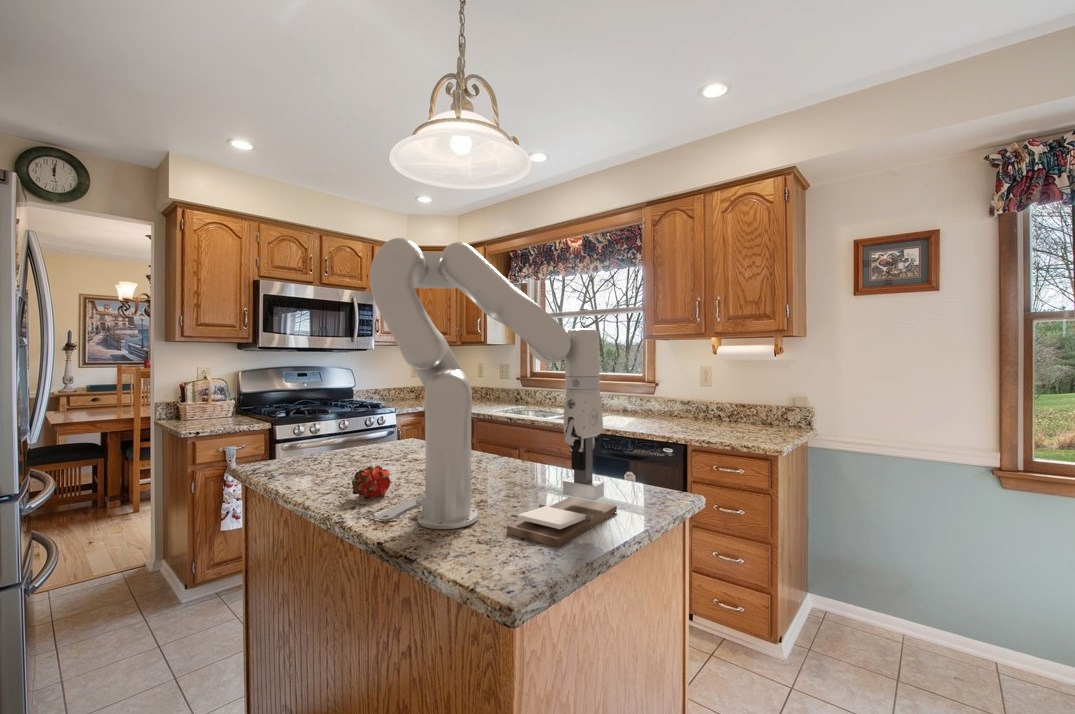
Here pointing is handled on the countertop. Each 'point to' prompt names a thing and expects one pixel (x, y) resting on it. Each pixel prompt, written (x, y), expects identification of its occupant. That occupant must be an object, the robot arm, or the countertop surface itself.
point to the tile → (552, 517)
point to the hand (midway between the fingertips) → (582, 467)
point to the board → (561, 536)
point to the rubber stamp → (584, 477)
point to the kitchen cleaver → (397, 510)
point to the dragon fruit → (371, 482)
